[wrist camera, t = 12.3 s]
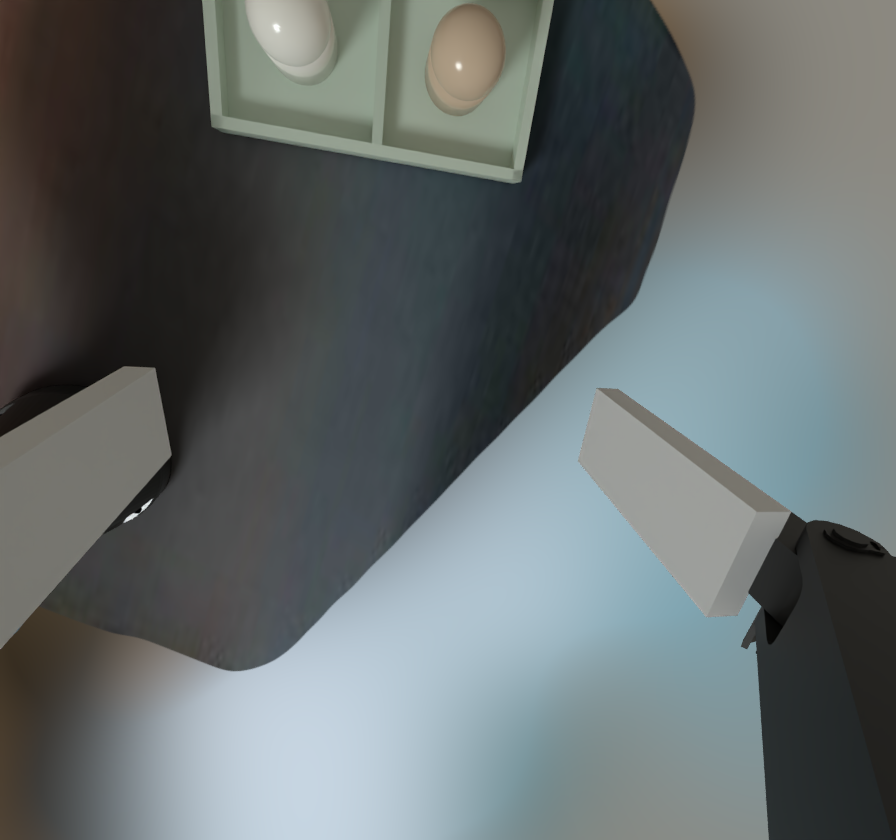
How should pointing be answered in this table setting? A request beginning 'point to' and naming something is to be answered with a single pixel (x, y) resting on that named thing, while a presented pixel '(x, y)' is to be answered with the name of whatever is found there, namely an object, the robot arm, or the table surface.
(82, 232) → the table surface
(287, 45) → the egg white
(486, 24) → the egg brown
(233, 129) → the green divided tray
